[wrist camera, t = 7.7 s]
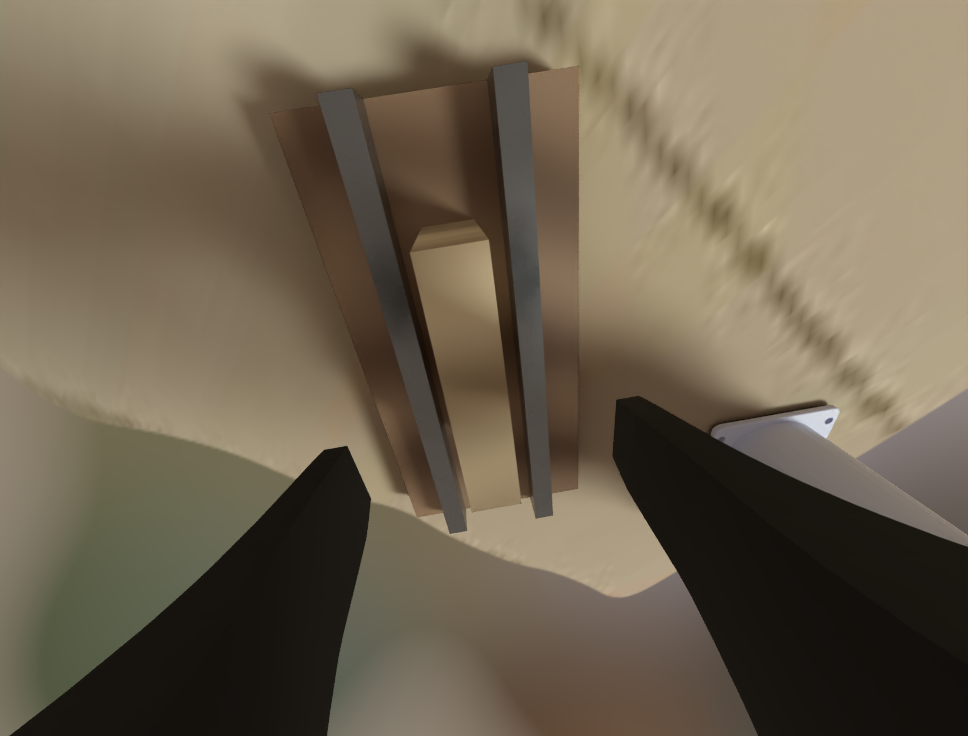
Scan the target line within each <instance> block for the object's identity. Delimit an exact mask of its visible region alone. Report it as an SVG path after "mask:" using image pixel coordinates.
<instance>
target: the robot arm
mask: <svg viewBox="0 0 968 736" xmlns="http://www.w3.org/2000/svg"><path fill="white" fill-rule="evenodd" d="M838 414H839V409H838V408H837V407H835V406H833V405H827V406H821V407H815V408H810V409H804V410H798V411H793V412H787V413H781V414H776V415H770V416H764V417H758V418H753V419H747V420H741V421H736V422H730V423H724V424H719V425H717V426H715V427H714V428H713V429H712V431H711V435H708V434H706V433H705V432H703V431H701V430H699V429H697V428H696V427H694V426H692V425H690V424H689V423H687V422H685V421H683V420H682V419H680V418H678V417H676V416H675V415H673V414H671V413H669V412H668V411H666V410H664V409H662V408H660V407H659V406H657V405H655V404H653V403H652V402H650V401H648V400H646V399H644V398H642V397H640V396H636V397H630V398H624V399H618V400H616V413H615V428H614V442H613V459H614V461H615V463H616V465H617V468H618V470H619V472H620V475H621V477H622V479H623V481H624V483H625V485H626V487H627V489H628V491H629V493H630V495H631V496H632V498H633V500H634V501H635V503H636V505H637V506H638V508H639V510H640V511H641V513H642V515H643V516H644V518H645V520H646V521H647V523H648V525H649V526H650V528H651V529H652V531H653V533H654V534H655V536H656V538H657V539H658V541H659V542H660V544H661V546H662V547H663V549H664V551H665V552H666V554H667V555H668V557H669V559H670V560H671V562H672V564H673V565H674V567H675V568H676V570H677V572H678V573H679V575H680V577H681V579H682V580H683V582H684V584H685V586H686V587H687V589H688V591H689V593H690V595H691V596H692V598H693V600H694V602H695V604H696V606H697V608H698V610H699V612H700V614H701V616H702V618H703V620H704V622H705V624H706V626H707V628H708V630H709V632H710V634H711V636H712V638H713V640H714V642H715V644H716V647H717V648H718V651H719V652H720V655H721V657H722V659H723V661H724V663H725V665H726V667H727V669H728V672H729V674H730V676H731V678H732V680H733V682H734V684H735V686H736V688H737V690H738V692H739V694H740V697H741V699H742V701H743V703H744V705H745V708H746V710H747V712H748V714H749V716H750V718H751V721H752V723H753V725H754V727H755V730H756V732H757V734H758V736H968V535H966V534H965V533H963V532H962V531H960V530H959V529H958V528H956V527H955V526H953V525H952V524H950V523H949V522H947V521H946V520H944V519H943V518H941V517H940V516H938V515H937V514H936V513H934V512H933V511H931V510H930V509H928V508H927V507H925V506H924V505H922V504H921V503H919V502H918V501H917V500H915V499H914V498H912V497H911V496H909V495H908V494H906V493H905V492H903V491H902V490H900V489H899V488H898V487H896V486H895V485H893V484H891V483H890V482H889V481H887V480H886V479H884V478H883V477H881V476H880V475H878V474H877V473H876V472H874V471H872V470H871V469H870V468H868V467H867V466H865V465H864V464H862V463H861V462H859V461H858V460H856V459H855V458H854V457H852V456H851V455H849V454H848V453H846V452H845V451H843V450H842V449H840V448H839V447H838V446H836V445H835V444H833V443H832V442H830V441H829V440H827V437H828V435H829V433H830V431H831V429H832V427H833V425H834V422H835V420H836V418H837V416H838ZM370 502H371V498H370V495H369V493H368V491H367V489H366V487H365V484H364V482H363V480H362V478H361V475H360V473H359V471H358V469H357V467H356V464H355V462H354V460H353V458H352V456H351V453H350V451H349V449H348V447H347V446H344V447H338V448H332V449H326V450H324V451H323V452H322V453H321V454H320V455H318V456H317V458H316V459H315V460H314V461H313V462H312V463H311V464H310V465H309V466H308V467H307V468H306V469H305V470H304V471H303V472H302V473H301V475H300V476H299V477H298V478H297V479H296V480H295V481H294V482H293V483H292V485H291V486H290V487H289V488H288V489H287V490H286V491H285V492H284V493H283V494H282V495H281V496H280V497H279V498H278V499H277V501H276V502H275V503H274V504H273V505H272V506H271V507H270V508H269V509H268V510H267V511H266V512H265V514H264V515H262V517H261V518H260V519H259V520H258V521H257V522H256V523H255V524H254V525H253V526H252V527H251V528H250V529H249V530H248V531H247V532H246V533H245V534H244V535H243V536H242V537H241V538H240V539H239V540H238V541H237V542H236V543H235V544H234V545H233V546H232V547H231V548H230V549H229V550H228V551H227V552H226V553H225V554H224V555H223V556H222V557H221V558H220V559H219V560H218V561H217V562H216V563H215V564H214V565H213V566H212V567H211V568H210V569H209V570H208V571H207V572H206V573H204V574H203V576H201V577H200V578H199V579H198V580H197V581H196V582H195V583H194V584H193V585H192V586H190V588H188V589H187V590H186V591H185V592H184V593H183V594H182V595H181V596H179V597H178V598H177V599H176V600H175V601H174V602H173V603H172V604H170V605H169V606H168V607H167V608H166V609H165V610H164V611H163V612H161V613H160V614H159V615H158V616H157V617H156V618H155V619H154V620H152V621H151V622H150V623H149V624H148V625H147V626H146V627H144V628H143V629H142V630H141V631H140V632H138V634H136V635H135V636H134V637H132V638H131V639H130V640H129V641H127V642H126V643H125V644H124V645H123V646H121V647H120V648H119V649H118V650H117V651H115V652H114V653H113V654H112V655H111V656H109V657H108V658H107V659H106V660H104V661H103V662H102V663H101V664H99V665H98V666H97V667H96V668H95V669H93V670H92V671H91V672H90V673H89V674H87V675H86V676H85V677H84V678H83V679H81V680H80V681H79V682H78V683H76V684H75V685H74V686H73V687H71V688H70V689H69V690H68V691H67V692H65V693H64V694H63V695H62V696H60V697H59V698H58V699H56V700H55V701H54V702H53V703H51V704H50V705H49V706H47V707H46V708H45V709H44V710H42V711H41V712H40V713H38V714H37V715H36V716H34V717H33V718H32V719H31V720H29V721H28V722H27V723H26V724H24V725H23V726H21V727H20V728H19V729H18V730H16V731H15V732H14V733H13V734H11V735H10V736H327V730H328V723H329V715H330V709H331V702H332V696H333V689H334V683H335V676H336V669H337V663H338V657H339V652H340V647H341V643H342V637H343V633H344V629H345V625H346V621H347V616H348V612H349V608H350V604H351V600H352V596H353V592H354V588H355V584H356V579H357V575H358V571H359V567H360V563H361V558H362V554H363V550H364V546H365V541H366V537H367V529H368V521H369V511H370Z"/></svg>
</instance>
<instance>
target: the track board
mask: <svg viewBox="0 0 968 736" xmlns="http://www.w3.org/2000/svg"><path fill="white" fill-rule="evenodd" d="M317 97H318V100H319V103H320V106H314V107H307V108H301V109H294V110H288V111H281V112H274V113H269V114H270V117H271V119H272V122H273V125H274V128H275V130H276V133H277V136H278V138H279V141H280V144H281V147H282V149H283V152H284V155H285V158H286V160H287V163H288V166H289V169H290V171H291V174H292V177H293V179H294V182H295V185H296V188H297V190H298V193H299V196H300V199H301V201H302V204H303V207H304V210H305V212H306V215H307V218H308V220H309V223H310V226H311V229H312V231H313V234H314V237H315V240H316V242H317V245H318V248H319V251H320V253H321V256H322V259H323V261H324V264H325V267H326V270H327V272H328V275H329V278H330V281H331V283H332V286H333V289H334V292H335V294H336V297H337V300H338V302H339V305H340V308H341V311H342V313H343V316H344V319H345V322H346V324H347V327H348V330H349V333H350V335H351V338H352V341H353V343H354V346H355V349H356V352H357V354H358V357H359V360H360V363H361V365H362V368H363V371H364V373H365V376H366V379H367V382H368V384H369V387H370V390H371V393H372V395H373V398H374V401H375V404H376V406H377V409H378V412H379V414H380V417H381V420H382V423H383V425H384V428H385V431H386V434H387V436H388V439H389V442H390V445H391V447H392V450H393V453H394V455H395V458H396V461H397V464H398V466H399V469H400V472H401V475H402V477H403V480H404V483H405V486H406V488H407V491H408V494H409V496H410V499H411V502H412V505H413V507H414V510H415V513H416V516H417V517H422V516H427V515H433V514H438V513H444V516H445V519H446V523H447V526H448V529H449V533H450V534H452V533H458V532H463V531H467V521H466V508H471V507H470V503H469V499H468V495H467V490H466V486H465V482H464V478H463V474H462V469H461V465H460V461H459V457H458V453H457V448H456V444H455V440H454V436H453V432H452V427H451V423H450V419H449V415H448V411H447V406H446V402H445V398H444V394H443V390H442V386H441V381H440V377H439V373H438V369H437V365H436V360H435V356H434V352H433V348H432V344H431V339H430V335H429V331H428V327H427V323H426V318H425V314H424V310H423V306H422V302H421V297H420V293H419V289H418V285H417V281H416V276H415V272H414V268H413V264H412V260H411V256H410V251H411V249H412V247H413V245H414V243H415V241H416V238H417V236H418V234H419V232H420V230H421V228H422V227H427V226H433V225H440V224H446V223H452V222H458V221H464V220H471V219H474V220H475V221H476V222H477V224H478V225H479V227H480V228H481V229H482V231H483V232H484V234H485V235H486V236H487V238H488V239H489V245H490V253H491V261H492V269H493V277H494V285H495V293H496V301H497V309H498V317H499V326H500V334H501V342H502V350H503V358H504V366H505V374H506V382H507V390H508V398H509V406H510V415H511V423H512V431H513V439H514V447H515V455H516V463H517V471H518V479H519V487H520V495H521V499H523V498H528V497H530V499H531V502H532V506H533V510H534V514H535V517H536V518H541V517H547V516H552V515H553V508H552V493H556V492H562V491H568V490H573V489H578V270H579V66H574V67H568V68H561V69H555V70H548V71H542V72H535V73H528V61H525V62H519V63H512V64H506V65H499V66H493V67H492V70H491V72H490V74H489V77H488V79H487V80H483V81H476V82H470V83H463V84H457V85H450V86H444V87H437V88H431V89H424V90H418V91H411V92H405V93H398V94H392V95H385V96H379V97H372V98H366V99H363V98H362V97H361V96H360V95H359V94H358V93H357V92H356V91H355V90H354V89H353V88H349V89H342V90H335V91H329V92H322V93H317Z"/></svg>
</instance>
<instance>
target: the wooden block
mask: <svg viewBox="0 0 968 736" xmlns="http://www.w3.org/2000/svg"><path fill="white" fill-rule="evenodd" d="M410 256H411V260H412V264H413V268H414V272H415V276H416V281H417V285H418V289H419V293H420V297H421V302H422V306H423V310H424V314H425V318H426V323H427V327H428V331H429V335H430V339H431V344H432V348H433V352H434V356H435V360H436V365H437V369H438V373H439V377H440V381H441V386H442V390H443V394H444V398H445V402H446V406H447V411H448V415H449V419H450V423H451V427H452V432H453V436H454V440H455V444H456V448H457V453H458V457H459V461H460V465H461V469H462V474H463V478H464V482H465V486H466V490H467V495H468V499H469V503H470V507H471V511H472V512H476V511H481V510H487V509H493V508H498V507H504V506H509V505H515V504H521V495H520V487H519V479H518V471H517V463H516V455H515V447H514V439H513V431H512V423H511V415H510V406H509V398H508V390H507V382H506V374H505V366H504V358H503V350H502V342H501V334H500V326H499V317H498V309H497V301H496V293H495V285H494V277H493V269H492V261H491V253H490V245H489V239H488V238H487V236H486V235H485V234H484V232H483V231H482V229H481V228H480V227H479V225H478V224H477V222H476V221H475V220H474V219H471V220H464V221H458V222H452V223H446V224H440V225H433V226H427V227H422V228H421V230H420V232H419V234H418V236H417V238H416V241H415V243H414V245H413V247H412V249H411V251H410Z"/></svg>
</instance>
